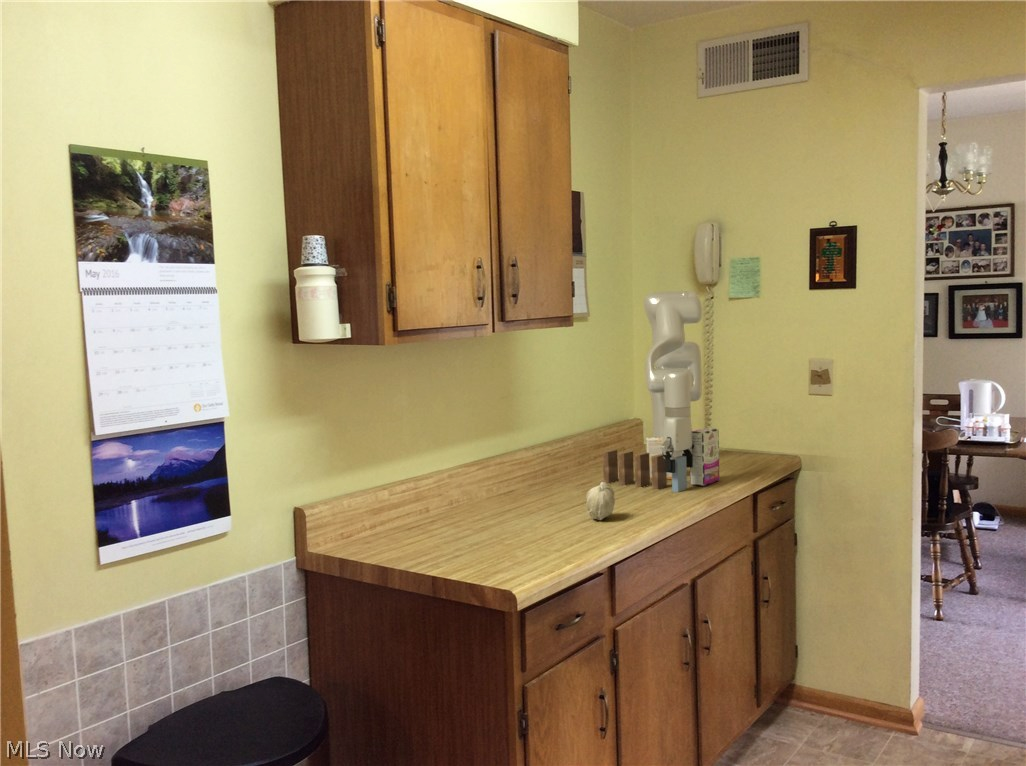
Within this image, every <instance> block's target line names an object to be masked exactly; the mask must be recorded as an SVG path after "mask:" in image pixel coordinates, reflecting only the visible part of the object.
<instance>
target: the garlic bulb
mask: <svg viewBox="0 0 1026 766" xmlns="http://www.w3.org/2000/svg"><path fill="white" fill-rule="evenodd" d="M585 501H586V512H587V514H588V515H589V516H590V518H592V519H593V520H595V519H597V520H598V521H602V520H603V519H605V518H608V517H609V516H611V515H613V511H614V510H615V508H614V507H615V503H616V499H615V491H614V489H613V487H612V486H611V485H609V484H607V483H605V482H604V481H601V482H600V484H599V485H597V486H594V487H592V488H589V490H588V491H587V493H586V494H585Z"/></svg>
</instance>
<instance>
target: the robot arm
mask: <svg viewBox="0 0 1026 766" xmlns="http://www.w3.org/2000/svg"><path fill="white" fill-rule="evenodd" d="M643 303H644V306H643V307H644V311H645V313H646V317H647V319H648V322H649V324H650V327H651V332H652V334H651V336H652V347H651V348H650V350H649V351H648V352H647V355H646V358H645V363H644V368H645V369H644V370H645V385H646V388H647V390H648V392H649V394H650V395H649V396H650V400H651V406H652V409H651V410H652V431H653V432H652V436H653V437H663V440H662V445H661V449H662V454H663V456H664V459H665V472H668V473H675V459H674V457H678V456H686V468H689V469H690V468H691V467H693V458H692V454H693V448H694V437H693V436H692V431H693V426H692V418H691V416H692V413H691V412H692V410H691V409H692V407H691V403H692V402H697V401H699V400H701V398H702V392H703V382H702V381H703V379H702V378H703V377H702V376H703V375H702V374H703V373H702V371H703V370H702V353H701V349H700V346H699V345H698V343H697V342H694V341H686V335H685V326H684V325H686V324H688V325H689V324H698V323H699V322H700V321H701V320H702V317H703V307H702V302H701V300H700V297H699V296H698V294H697V293H696V292H695V291H694V290H679V291H677V290H676V291H675V290H674V291H670V290H669V291H656V292H651V293H649V294H647V295H646V296H645V297H644V301H643ZM669 452H672V453H671V454H670V453H669Z"/></svg>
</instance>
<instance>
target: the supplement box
mask: <svg viewBox="0 0 1026 766" xmlns="http://www.w3.org/2000/svg"><path fill="white" fill-rule="evenodd" d="M662 440H663V437H646V438H645V442H646V443H645V445H646V453H649V460H650V479H652V461H651V456H655V455H658V454H662V449H661V445H662ZM669 453H670V454H671V453H672V452H669ZM667 480H672V473H668V472H667Z"/></svg>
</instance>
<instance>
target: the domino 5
mask: <svg viewBox="0 0 1026 766" xmlns="http://www.w3.org/2000/svg"><path fill="white" fill-rule="evenodd" d="M674 459H675V473H672V479H671V489H672V490H671V492H672V491H673V493H680V492H679V491H681V492H683V491H682V490H684V491H686V490H685V489H687V490H688V478H687V475H688V473H687V471H688V470H687V468H688V467H686V456H678V457H674Z"/></svg>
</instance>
